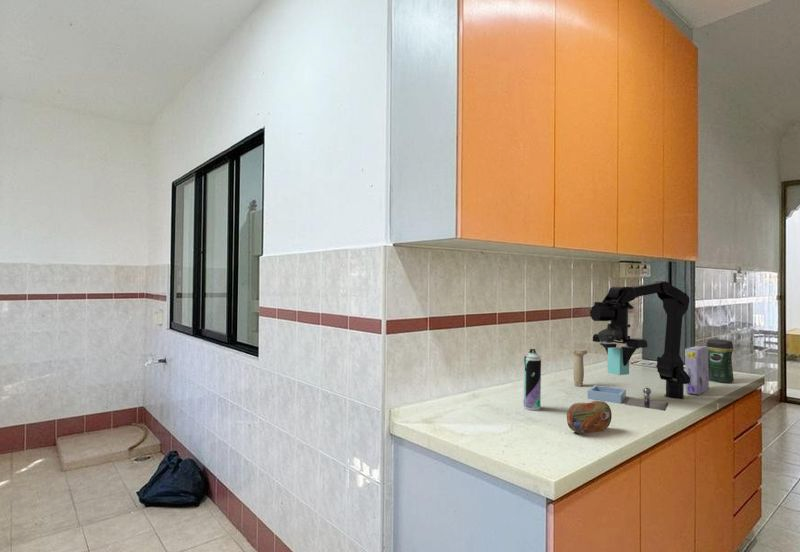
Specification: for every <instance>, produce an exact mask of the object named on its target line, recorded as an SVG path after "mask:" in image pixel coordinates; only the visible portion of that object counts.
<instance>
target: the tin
mask: <svg viewBox="0 0 800 552" xmlns="http://www.w3.org/2000/svg"><path fill="white" fill-rule="evenodd" d="M612 418H613V417H612V409H611V407H610V405H609V404H608V402H606V401H600V400H589V401H583V402H575V403H573V404H572V405H570V407H569V408H568V409H567V413H566V421H567V422H566V423H567V426H568V428H569V429H570V430H571V431H573V432H574V433H577V434H580V435H586V434H591V433H598V432H603V431H605V430H607V429H608V428H609V426H610V425H611V422H612Z"/></svg>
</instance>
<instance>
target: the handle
mask: <svg viewBox="0 0 800 552" xmlns="http://www.w3.org/2000/svg"><path fill="white" fill-rule="evenodd" d="M570 353H572V354H573V355H574V360H573V362H574V363H573V381H574V382H573V383H574V386H575V387H583V386H584V380H585V379H584V377H585V369H584V368H585V367H584V356H585V355H586V354H588V350H587V349H583V348H573V347H572V348H571V349H570Z"/></svg>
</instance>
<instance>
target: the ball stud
mask: <svg viewBox="0 0 800 552" xmlns="http://www.w3.org/2000/svg"><path fill="white" fill-rule="evenodd" d="M642 391H643V393H644V394H643V395H644V396H643V397H644V399H641V398H636V397H630V398H629V400H627V402H626V403H625V406H630V407H632V406H633V407H638V408H645V409H651V410H658V411H662V412H663V411H666V410H667V408H668V405H669V403H668V402H663V401H656V400H650V398H651V397H650V395H651V393H652V390H651V388H649V387H644V388H643V390H642Z"/></svg>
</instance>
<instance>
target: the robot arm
mask: <svg viewBox="0 0 800 552" xmlns="http://www.w3.org/2000/svg"><path fill="white" fill-rule="evenodd" d="M654 294H656V295H657V297H658V299H660V301H662V307H663V309H664V312H665V314H666V325H665V337H664V349H663V351H664V352H663V354H662V355H661V356H657V358H656V365H655V368H656V369H657V370H656V371H657V373H658V374H659V377H660V380H663V381H665V393H664V396H663V397H664V398H669V399H677V400H685V398H686V396H685V395H684V392H685V391H684V385H686V384H689V382H690V379H691V378H690V377H689V376H688V374H687V373H686V370H685V366H684V361H683V360H682V357H681V356H680V354H681V353H680V352H681V341H682V339H681V338H682V329H683V328H682V325H683V317H684V315H685V314H686V313H687V311H688V310H689V305H690V296H689V295H688V294H687V293H686V292H684V291H682V290H681V289H679V288H677V287H676V286H674V285H672V284H671V283H669V282H668V281H666V280H665V281H664V280H663V281H661V280H658V281H653V282H649V283H644V284H638V285H633V286H611V287H610V288H609V290H608V293H607V294H606V295H605V297H604V298H603V300H602V301H594V305H593V306H592V307H591V308H590V310H589V316H590V319H591V320H592V321H595V322H609V323H607V327H606V328H605V329H602V330H600V331H598V332H597V333H594V334H593V336H592V342H596V343H599V344H600V346H602V347H603V348H604V349H605V351H606V354H607V355H608V348H612V347H617V344H624V346H620V348H622V350H623V365H624V366H626V365H627V363H628V362H629V363H630V359H631V358H632V357H633V355H634V353H635V351H637V350H638V349H639V348H640V349H643V348H648V341H647V340H646V339H645V338H639V337H638V338H637V337H635V338H634V337H632V338H631V335H629V328H631V324H629V310H633V309H634V306H633V305H632V304H631V303H630V302H632V301H634V300H635V299H637V298H639V297H643V296H649V295H654Z"/></svg>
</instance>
